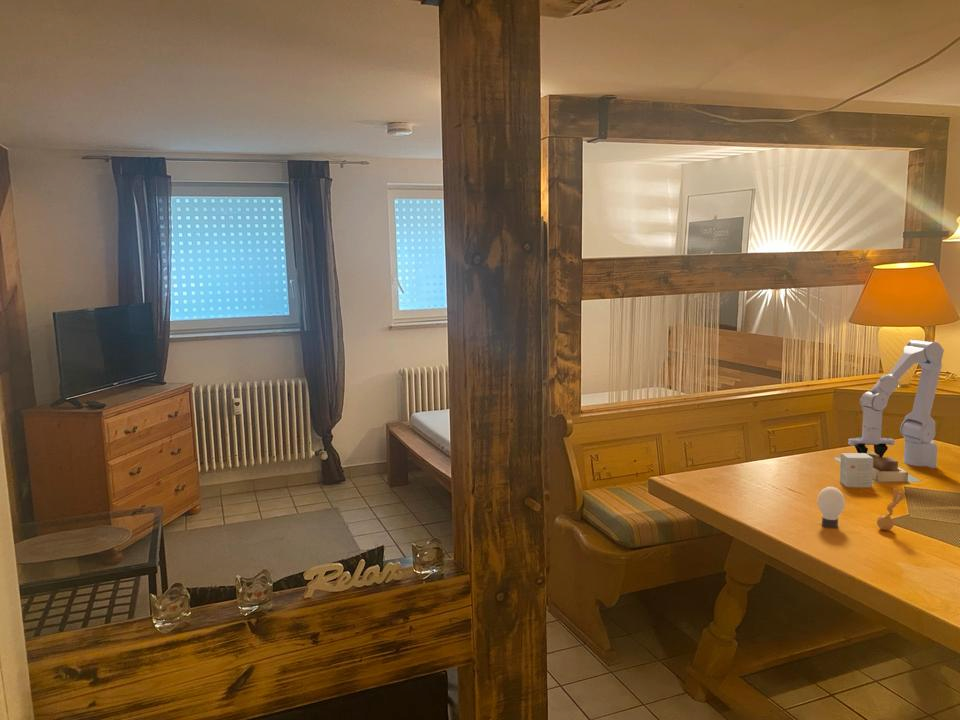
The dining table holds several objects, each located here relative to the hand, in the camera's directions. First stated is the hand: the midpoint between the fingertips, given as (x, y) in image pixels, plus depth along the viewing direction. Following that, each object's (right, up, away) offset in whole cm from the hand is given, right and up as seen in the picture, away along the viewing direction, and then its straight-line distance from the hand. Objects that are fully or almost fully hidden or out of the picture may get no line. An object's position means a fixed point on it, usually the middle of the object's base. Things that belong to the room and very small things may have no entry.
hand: (869, 465), depth 244 cm
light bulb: (-38, -10, -48) cm, 62 cm away
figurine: (-24, -10, -53) cm, 59 cm away
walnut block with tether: (0, -2, -5) cm, 6 cm away
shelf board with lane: (+1, -2, -1) cm, 2 cm away
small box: (-14, -5, -17) cm, 22 cm away
